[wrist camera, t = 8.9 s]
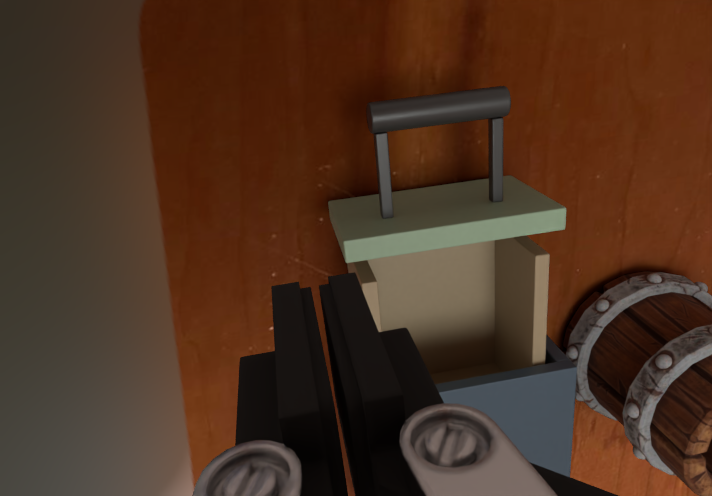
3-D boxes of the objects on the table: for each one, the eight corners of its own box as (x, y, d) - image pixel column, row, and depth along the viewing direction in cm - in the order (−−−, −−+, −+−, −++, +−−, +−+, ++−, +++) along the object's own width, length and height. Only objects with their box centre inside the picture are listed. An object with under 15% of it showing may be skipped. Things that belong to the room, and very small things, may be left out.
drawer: (315, 98, 30) (328, 115, 24) (511, 74, 31) (573, 85, 25) (350, 387, 38) (368, 458, 31) (509, 359, 39) (556, 422, 33)
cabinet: (333, 327, 37) (352, 408, 29) (512, 297, 38) (577, 367, 30) (354, 490, 42) (376, 596, 34) (510, 459, 44) (565, 554, 36)
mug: (544, 280, 38) (757, 409, 24) (705, 234, 41) (966, 324, 28) (542, 416, 42) (720, 588, 29) (687, 364, 46) (904, 494, 33)
